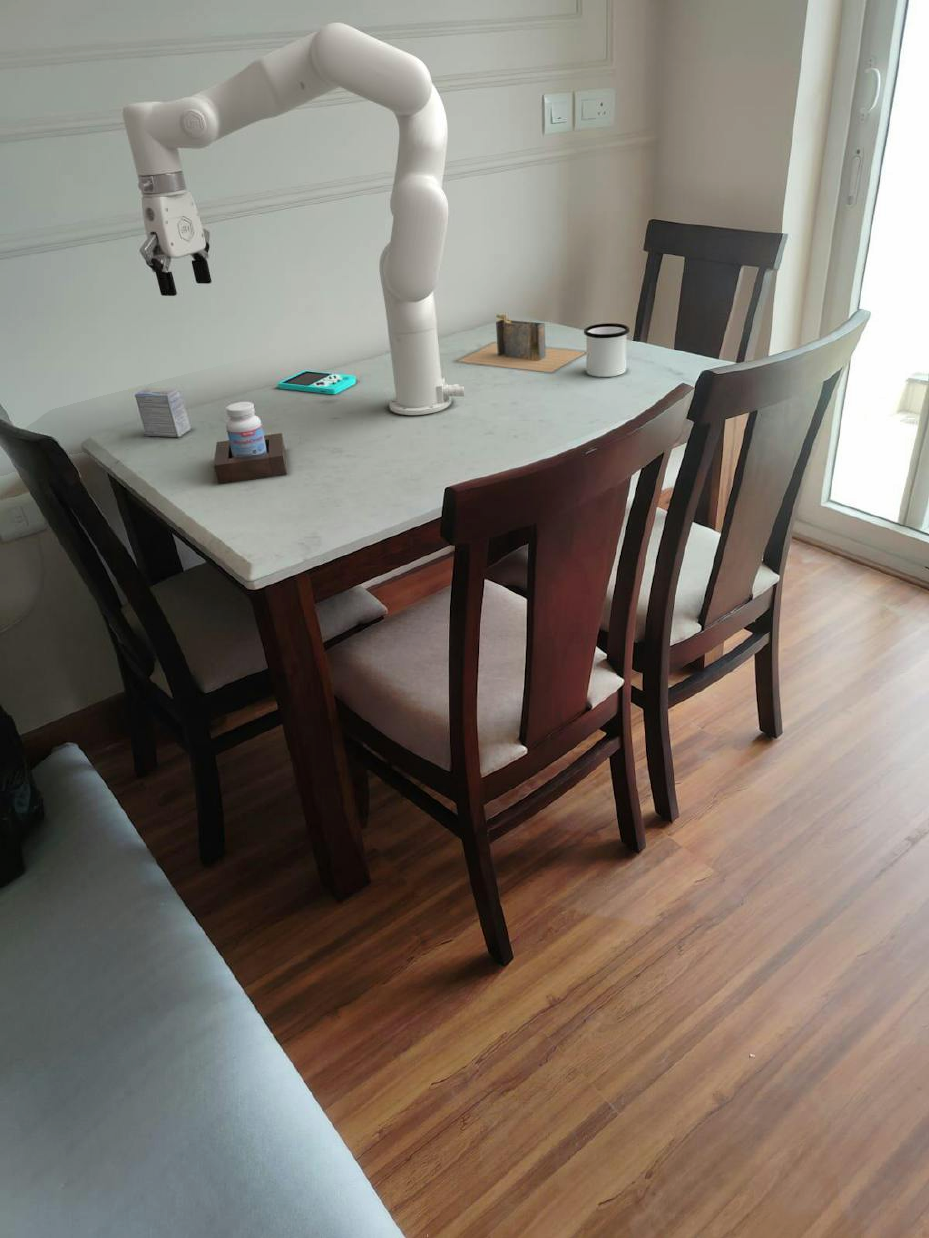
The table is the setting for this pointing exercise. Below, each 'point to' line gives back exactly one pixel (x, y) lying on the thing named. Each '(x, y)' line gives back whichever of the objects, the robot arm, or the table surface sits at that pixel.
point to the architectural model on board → (521, 348)
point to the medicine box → (162, 412)
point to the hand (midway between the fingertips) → (187, 289)
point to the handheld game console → (318, 382)
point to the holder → (250, 461)
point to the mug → (606, 349)
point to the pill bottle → (245, 430)
